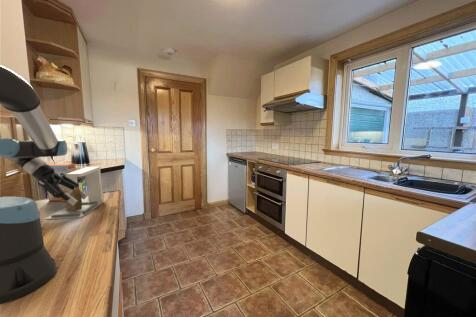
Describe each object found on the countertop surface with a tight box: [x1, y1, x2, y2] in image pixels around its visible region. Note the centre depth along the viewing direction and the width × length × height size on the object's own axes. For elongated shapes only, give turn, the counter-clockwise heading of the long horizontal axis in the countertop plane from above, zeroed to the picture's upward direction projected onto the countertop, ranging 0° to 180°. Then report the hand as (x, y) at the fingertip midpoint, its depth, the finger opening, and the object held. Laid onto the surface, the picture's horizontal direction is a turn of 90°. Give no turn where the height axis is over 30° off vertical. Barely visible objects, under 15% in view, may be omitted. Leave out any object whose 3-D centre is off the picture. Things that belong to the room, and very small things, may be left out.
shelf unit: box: [44, 166, 105, 221], centre depth 102 cm, size 21×15×20 cm
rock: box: [64, 187, 83, 210], centre depth 101 cm, size 11×9×10 cm
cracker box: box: [47, 163, 79, 202], centre depth 116 cm, size 14×6×21 cm, turn 84°
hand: (80, 200), depth 102 cm, fingers closed on rock, 7 cm apart
